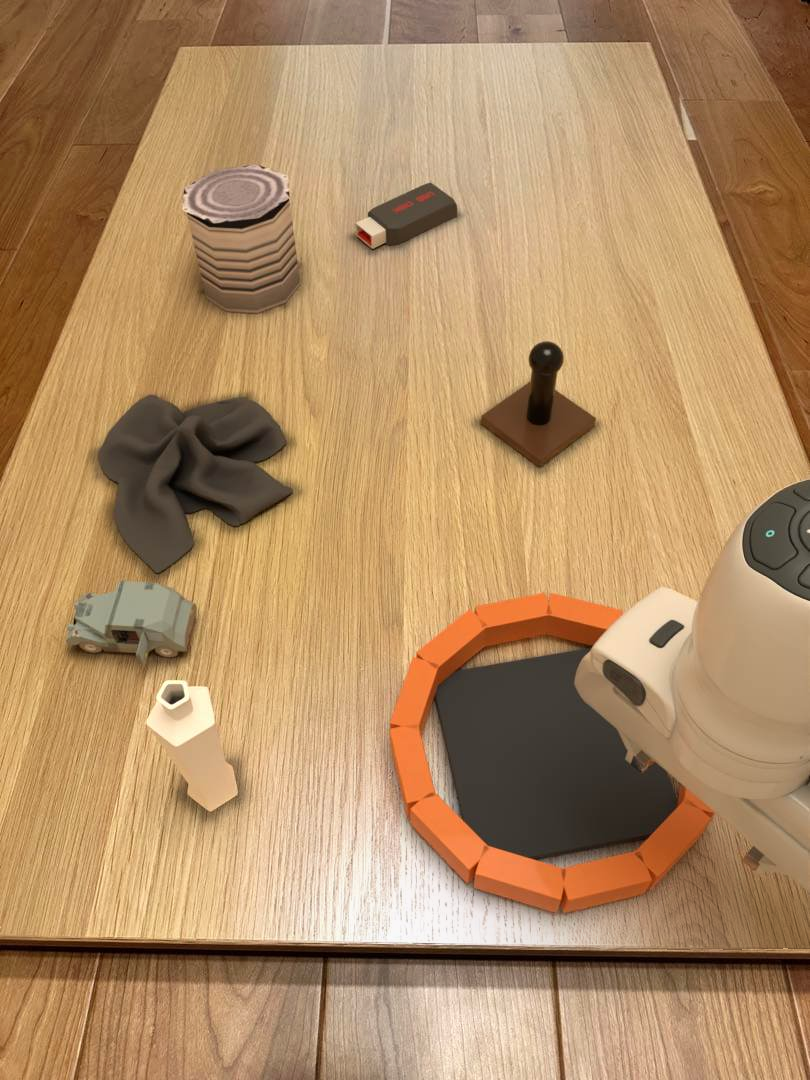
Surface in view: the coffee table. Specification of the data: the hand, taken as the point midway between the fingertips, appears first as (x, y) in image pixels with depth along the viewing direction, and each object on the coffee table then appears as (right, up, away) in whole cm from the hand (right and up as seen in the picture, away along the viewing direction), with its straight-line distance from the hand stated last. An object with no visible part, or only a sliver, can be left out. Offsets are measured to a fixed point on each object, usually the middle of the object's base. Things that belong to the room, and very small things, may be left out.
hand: (697, 809), depth 64 cm
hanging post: (-6, +29, +33) cm, 45 cm away
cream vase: (-34, -1, +11) cm, 36 cm away
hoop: (-8, +2, +12) cm, 14 cm away
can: (-37, +47, +48) cm, 76 cm away
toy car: (-42, +9, +19) cm, 47 cm away
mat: (-8, +1, +12) cm, 15 cm away
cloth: (-39, +24, +30) cm, 55 cm away
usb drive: (-19, +55, +53) cm, 79 cm away
